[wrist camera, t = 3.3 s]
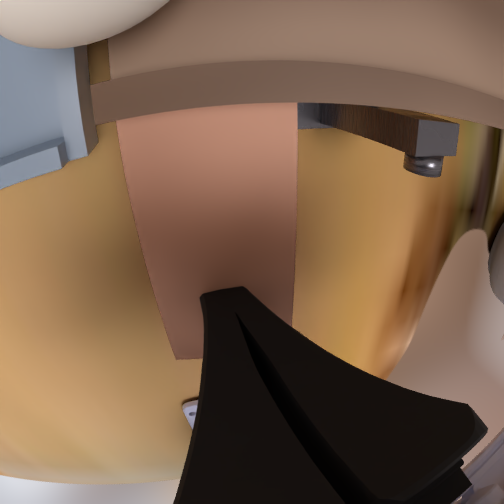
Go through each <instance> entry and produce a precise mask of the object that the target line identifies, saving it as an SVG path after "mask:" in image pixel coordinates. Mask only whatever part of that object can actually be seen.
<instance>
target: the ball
mask: <svg viewBox="0 0 504 504" xmlns="http://www.w3.org/2000/svg"><path fill="white" fill-rule="evenodd" d="M168 1H169V0H0V35H1V36H3V37H4V38H6V39H8V40H10V41H13V42H15V43H17V44H21V45H24V46H28V47H34V48H45V49H62V48H71V47H77V46H82V45H87V44H91V43H94V42H97V41H101V40H104V39H107V38H110V37H112V36H114V35H117V34H119V33H121V32H123V31H125V30H127V29H129V28H131V27H133V26H135V25H136V24H138V23H140V22H142V21H143V20H145V19H146V18H148V17H149V16H151V15H152V14H153V13H155V12H156V11H157V10H159V9H160V8H161V7H162V6H164V5H165V4H166V3H167V2H168Z"/></svg>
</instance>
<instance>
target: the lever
mask: <svg viewBox="0 0 504 504" xmlns="http://www.w3.org/2000/svg"><path fill="white" fill-rule="evenodd" d="M108 51H109V64H110V75H111V80H108V81H104V82H100V83H96V84H93V85H90V89H91V98H92V105H93V113H94V120H95V125H99V124H103V123H108V122H112V121H116V125H117V132H118V138H119V144H120V150H121V156H122V162H123V167H124V173H125V178H126V183H127V188H128V193H129V197H130V202H131V207H132V211H133V215H134V220H135V224H136V228H137V232H138V236H139V240H140V244H141V248H142V252H143V256H144V260H145V263H146V267H147V271H148V274H149V278H150V281H151V285H152V288H153V291H154V295H155V298H156V301H157V305H158V308H159V311H160V314H161V317H162V320H163V323H164V326H165V329H166V332H167V335H168V338H169V341H170V344H171V347H172V350H173V353H174V355H175V358H176V360H180V359H200V358H203V343H204V324H203V314H202V309H201V304H200V299H199V297H200V296H201V295H202V294H203V293H207V292H212V291H216V290H220V289H227V288H233V287H240V286H244V287H245V288H247V289H248V290H249V291H250V292H251V293H252V294H253V295H254V296H255V297H256V298H257V299H258V300H260V301H261V302H262V303H263V304H264V305H265V306H266V307H268V308H269V309H270V310H271V311H272V312H273V313H275V314H276V315H277V316H278V317H279V318H281V319H282V320H283V321H285V322H286V323H287V324H289V325H290V326H291V327H292V313H293V295H294V275H295V251H296V220H297V162H298V123H297V103H337V104H354V105H367V106H378V107H388V108H396V109H404V110H412V111H419V112H425V113H431V114H437V115H443V116H448V117H453V118H458V119H463V120H468V121H472V122H476V123H481V124H485V125H489V126H493V127H496V128H500V129H504V0H169V1H168V2H167V3H166V4H165V5H164V6H162V7H161V8H160V9H159V10H157V11H156V12H155V13H153V14H152V15H151V16H149V17H148V18H146V19H145V20H143V21H142V22H140V23H138V24H136V25H135V26H133V27H131V28H129V29H127V30H125V31H123V32H121V33H119V34H117V35H114V36H112V37H110V38H108Z"/></svg>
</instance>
